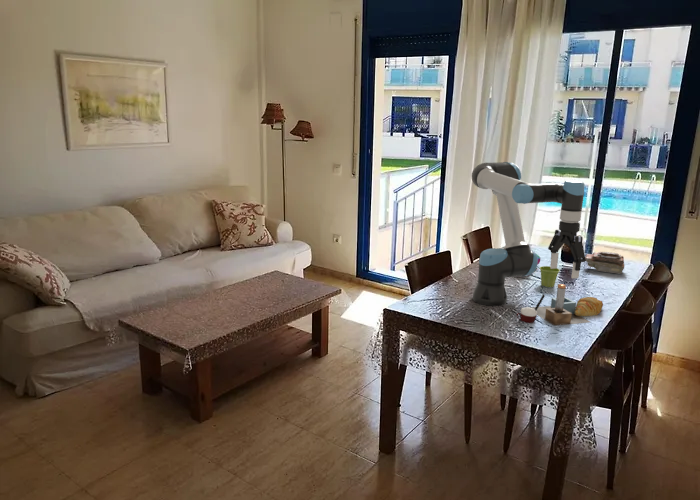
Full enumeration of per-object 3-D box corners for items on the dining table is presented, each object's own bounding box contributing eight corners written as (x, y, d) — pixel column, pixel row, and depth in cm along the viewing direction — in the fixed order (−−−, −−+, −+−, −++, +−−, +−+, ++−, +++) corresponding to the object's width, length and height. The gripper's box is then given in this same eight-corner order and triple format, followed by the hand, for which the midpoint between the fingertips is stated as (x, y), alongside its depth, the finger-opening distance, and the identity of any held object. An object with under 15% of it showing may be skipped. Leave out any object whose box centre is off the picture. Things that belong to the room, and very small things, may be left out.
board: (554, 327, 212) (554, 325, 212) (526, 309, 231) (526, 307, 231) (590, 324, 216) (590, 322, 216) (560, 306, 235) (560, 304, 235)
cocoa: (515, 322, 216) (518, 294, 213) (518, 317, 222) (520, 290, 219) (539, 327, 212) (543, 298, 209) (542, 322, 218) (545, 294, 214)
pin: (556, 321, 216) (561, 286, 212) (552, 318, 219) (556, 284, 215) (563, 321, 217) (567, 286, 213) (558, 318, 220) (562, 283, 216)
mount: (555, 324, 214) (556, 314, 213) (545, 317, 220) (546, 308, 219) (570, 322, 215) (571, 313, 214) (559, 316, 222) (560, 307, 221)
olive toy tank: (622, 277, 277) (624, 260, 275) (581, 271, 287) (583, 254, 285) (624, 271, 288) (627, 254, 286) (584, 265, 298) (587, 249, 296)
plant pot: (554, 283, 267) (556, 266, 265) (560, 289, 258) (562, 272, 256) (535, 282, 268) (537, 265, 266) (540, 288, 259) (542, 271, 257)
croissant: (580, 327, 221) (591, 314, 216) (562, 310, 226) (572, 297, 221) (604, 315, 234) (615, 302, 229) (586, 299, 239) (597, 286, 234)
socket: (560, 315, 223) (561, 303, 222) (550, 309, 230) (551, 298, 228) (574, 313, 225) (576, 302, 223) (564, 307, 231) (565, 297, 230)
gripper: (600, 227, 196) (593, 281, 202) (558, 214, 220) (553, 264, 225) (582, 227, 194) (575, 283, 200) (542, 215, 218) (537, 265, 223)
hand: (563, 273), depth 212 cm, fingers open, 13 cm apart
